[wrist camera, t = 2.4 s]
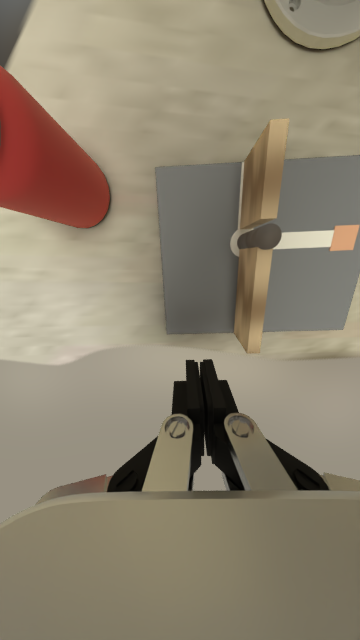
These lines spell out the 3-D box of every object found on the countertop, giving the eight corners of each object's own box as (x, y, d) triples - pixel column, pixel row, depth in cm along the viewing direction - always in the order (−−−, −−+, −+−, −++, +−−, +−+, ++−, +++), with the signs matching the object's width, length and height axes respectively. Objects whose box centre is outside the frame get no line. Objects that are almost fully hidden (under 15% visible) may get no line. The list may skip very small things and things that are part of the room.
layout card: (156, 171, 18) (155, 166, 17) (383, 158, 17) (395, 152, 16) (167, 331, 24) (166, 334, 23) (336, 326, 23) (343, 330, 22)
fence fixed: (243, 161, 17) (270, 119, 12) (256, 161, 17) (289, 118, 12) (239, 229, 19) (260, 218, 14) (251, 228, 19) (276, 218, 13)
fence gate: (237, 233, 18) (258, 224, 13) (255, 232, 18) (283, 222, 13) (231, 332, 22) (245, 356, 17) (246, 332, 22) (264, 355, 17)
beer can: (124, 195, 19) (34, 102, 7) (87, 242, 20) (-33, 224, 9) (73, 138, 17) (-139, -87, 6) (37, 193, 19) (-181, 100, 8)
